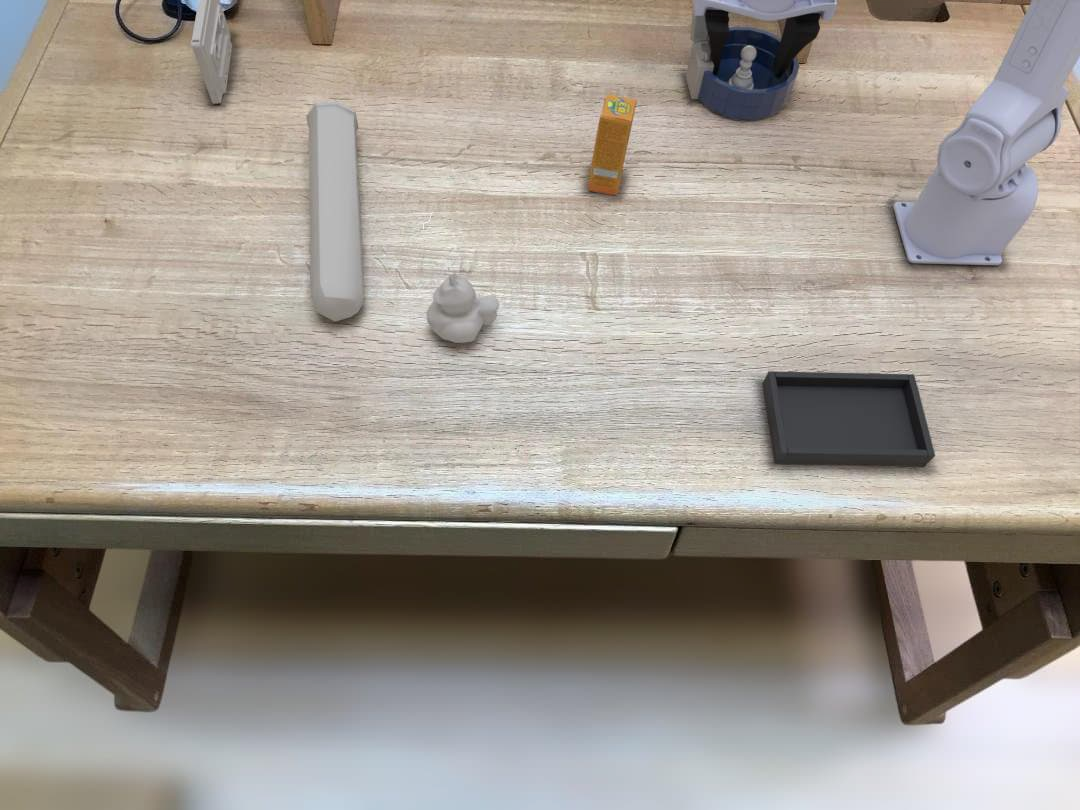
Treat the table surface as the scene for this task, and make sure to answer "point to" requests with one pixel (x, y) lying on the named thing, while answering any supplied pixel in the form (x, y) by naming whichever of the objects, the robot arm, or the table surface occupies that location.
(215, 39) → the cassette
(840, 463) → the tray
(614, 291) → the table surface
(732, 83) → the chess pawn
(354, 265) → the tube
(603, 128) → the supplement box
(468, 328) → the rubber duck
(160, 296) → the table surface
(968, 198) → the robot arm
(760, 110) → the bowl
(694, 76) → the lighter
